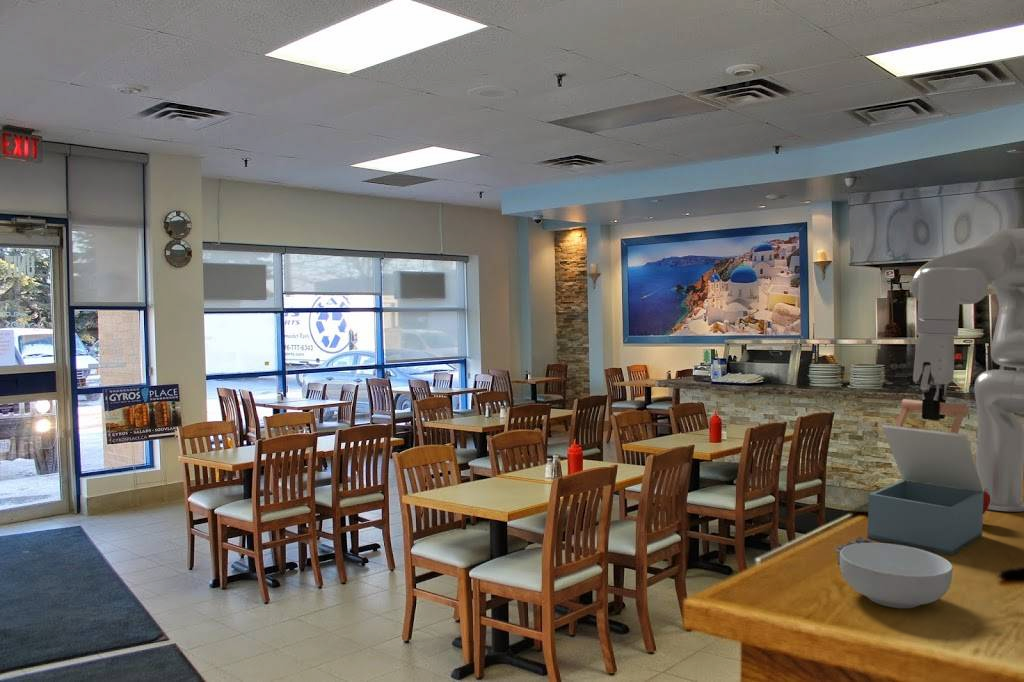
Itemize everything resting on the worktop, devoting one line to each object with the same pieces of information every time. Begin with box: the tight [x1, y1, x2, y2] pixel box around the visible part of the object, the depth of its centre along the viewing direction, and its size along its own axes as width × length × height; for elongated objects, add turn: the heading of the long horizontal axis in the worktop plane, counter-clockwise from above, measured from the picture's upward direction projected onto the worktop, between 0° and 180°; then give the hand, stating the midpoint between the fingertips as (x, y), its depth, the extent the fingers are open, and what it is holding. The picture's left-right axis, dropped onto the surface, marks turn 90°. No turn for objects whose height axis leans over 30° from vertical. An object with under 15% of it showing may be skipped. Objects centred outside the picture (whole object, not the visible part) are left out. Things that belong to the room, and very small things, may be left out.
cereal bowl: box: [839, 542, 954, 609], centre depth 140 cm, size 17×17×7 cm
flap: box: [881, 398, 984, 492], centre depth 178 cm, size 18×16×8 cm
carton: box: [867, 479, 984, 556], centre depth 175 cm, size 18×16×9 cm
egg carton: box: [835, 536, 878, 565], centre depth 158 cm, size 11×8×4 cm
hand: (933, 418), depth 175 cm, fingers closed on flap, 2 cm apart
